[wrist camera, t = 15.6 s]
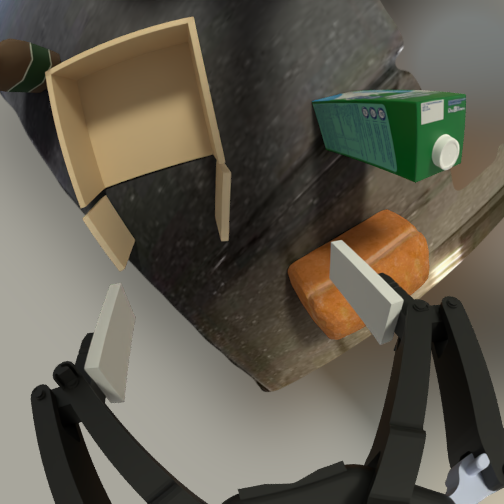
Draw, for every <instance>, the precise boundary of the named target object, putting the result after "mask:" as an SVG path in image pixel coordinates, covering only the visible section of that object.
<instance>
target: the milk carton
mask: <svg viewBox="0 0 504 504" xmlns="http://www.w3.org/2000/svg"><path fill="white" fill-rule="evenodd" d="M312 104H313V107H314V110H315V114H316V117H317V120H318V123H319V127H320V130H321V133H322V137H323V140H324V144H325V148H326V150H329V151H332V152H335V153H338V154H341V155H344V156H347V157H350V158H353V159H356V160H359V161H362V162H364V163H367V164H370V165H373V166H375V167H378V168H381V169H383V170H386V171H388V172H391V173H393V174H396V175H398V176H401V177H403V178H406V179H408V180H410V181H413V182H415V183H416V182H418V181H420V180H423V179H425V178H427V177H430V176H432V175H434V174H437V173H439V172H441V171H444V170H449V169H450V168H451V167H453V166H456V165H458V164H460V163H461V157H462V149H463V140H464V139H463V138H464V129H465V113H466V95H465V94H459V93H450V92H437V91H421V90H364V91H352V92H347V93H343V94H339V95H335V96H330V97H326V98H323V99H319V100H315V101H312Z"/></svg>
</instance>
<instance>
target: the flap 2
mask: <svg viewBox="0 0 504 504" xmlns="http://www.w3.org/2000/svg"><path fill="white" fill-rule="evenodd" d="M230 187H231V172H230V170H229V169H228V168H227V166H226V165H225V164H224V163H222V164H219V163H218V161H216V189H215V219H216V223H217V227H218V231H219V235H220V238H221V241H229V212H230Z"/></svg>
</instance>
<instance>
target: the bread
mask: <svg viewBox="0 0 504 504" xmlns="http://www.w3.org/2000/svg"><path fill="white" fill-rule="evenodd" d="M338 240H342V241H343V242H344V243H345V244H347V245H348V246H349V247H350V248H351V249H352V250H353V251H354V252H355V253H356V254H357V255H358V256H359V257H361V258H362V259H363V260H364V261H365V262H366V263H367V264H368V265H369V266H370V267H371V268H372V269H373V270H374V271H375V272H376V273H377V274H379V273H384V274H386V275H388V276H390V277H391V278H392V279H393V280H394V281H395V282H397V283H398V284H399V285H400V286H401V287H402V288H403V289H404V290H405V291H406V292H407V293H408V294H409V295H411V294H413V293H414V292H415V291H416V290H417V289H419V288H420V287H421V286H422V285H423V284H424V283H425V281H426V280H427V279H428V275H429V259H428V258H429V251H428V246H427V242H426V239H425V238H424V236H423V235H422V233H420V232H418V231H417V230H416V228H415V227H414V226H413V225H412V224H411V223H410V222H408V221H407V220H406V219H404V218H403V217H401V216H399V215H398V214H396V213H394V212H392V211H389V210H387V209H386V210H382V211H380V212H379V213H377V214H375V215H374V216H372V217H370V218H368V219H367V220H365V221H363V222H362V223H360V224H358V225H357V226H355V227H353V228H351V229H350V230H348V231H346V232H345V233H343V234H341V235H340V236H338V237H336V238H335V239H333V240H331V241H330V242H328V243H326V244H324V245H323V246H321V247H319V248H317V249H316V250H314V251H312V252H311V253H309V254H307V255H306V256H304V257H302V258H300V259H299V260H297V261H295V262H294V263H293V264H291V265H290V266H289V269H288V275H289V278H290V281H291V284H292V286H293V288H294V290H295V292H296V294H297V295H298V297H299V299H300V301H301V302H302V304H303V306H304V307H305V309H306V310H307V312H308V313H309V315H310V316H311V318H312V319H313V321H314V322H315V323H316V324H317V325H318V326H319V327H320V328H321V330H322V331H323V332H324V333H325V334H326V335H327V336H328V337H329V338H330V339H341V338H343V337H345V336H347V335H349V334H352V333H354V332H356V331H358V330H360V329H362V328H363V327H365V326H366V325H365V324H364V322H363V321H362V320H361V318H360V317H359V316H358V314H357V313H356V312H355V310H354V309H353V308H352V307H351V305H350V304H349V303H348V301H347V300H346V299H345V297H344V296H343V295H342V294H341V292H340V291H339V290H338V289H337V287H336V286H335V285H334V283H333V282H332V281H331V280H330V278H329V275H330V255H331V242H333V241H338Z"/></svg>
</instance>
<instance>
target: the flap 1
mask: <svg viewBox="0 0 504 504" xmlns="http://www.w3.org/2000/svg"><path fill="white" fill-rule="evenodd" d="M83 221H84V222H85V223H86V225H87V227H88V228H89V230H90V231H91V233H92V234H93V235H94V237H95V238H96V240H97V241H98V243H99V244H100V246H101V247H102V248H103V250H104V251H105V252H106V254H107V255H108V257H109V258H110V259H111V261H112V262H113V263H114V265H115V266H116V267H117V269H118V270H119V271H122V270H124V269H125V267H126V264H127V261H128V259H129V256H130V253H131V250H132V248H133V245H134V242H135V239H134V238H133V236H132V235H131V233H130V232H129V230H128V229H127V227H126V226H125V224H124V223H123V221H122V220H121V218H120V217H119V215H118V214H117V212H116V210H115V209H114V207H113V206H112V204H111V203H110V201H109V199H108V198H107V196H106V195H105V196H104V197H102V198H101V199H100V200H99V201H98V202H97V203H96V204H95V205H94V206H93V208H92V209H91V210H90V211H89V212H88V213H87V214H86V215H85V216H84V217H83Z"/></svg>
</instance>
